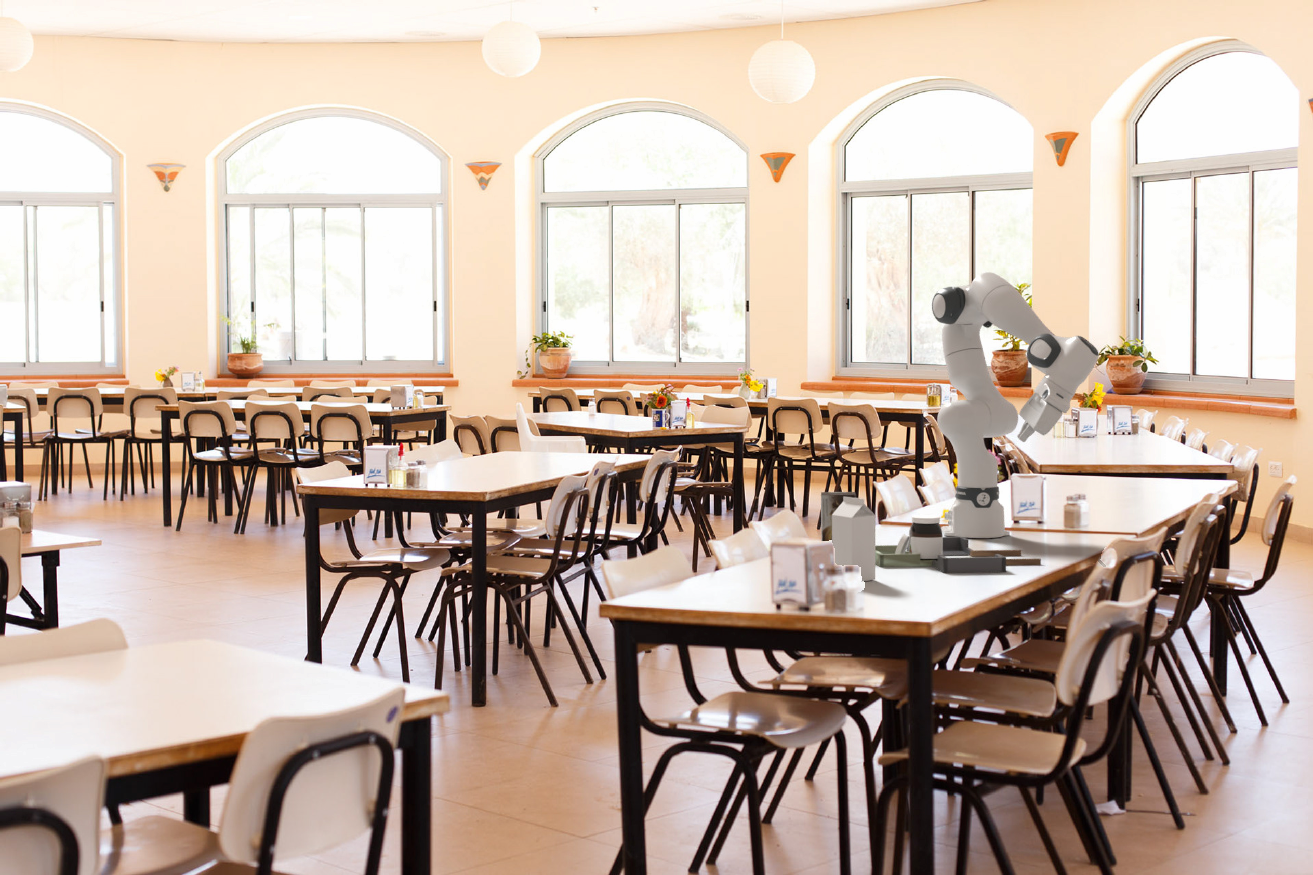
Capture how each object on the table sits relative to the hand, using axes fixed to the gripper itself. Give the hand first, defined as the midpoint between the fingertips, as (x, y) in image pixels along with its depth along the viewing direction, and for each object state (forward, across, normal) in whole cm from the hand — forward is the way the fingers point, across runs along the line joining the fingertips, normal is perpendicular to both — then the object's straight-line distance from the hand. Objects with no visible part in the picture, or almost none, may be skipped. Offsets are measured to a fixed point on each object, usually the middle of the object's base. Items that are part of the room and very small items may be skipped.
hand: (1020, 439), depth 340 cm
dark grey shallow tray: (+30, +30, 0) cm, 43 cm away
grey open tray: (+36, +3, -1) cm, 36 cm away
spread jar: (+38, +20, -9) cm, 44 cm away
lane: (+33, +17, -1) cm, 37 cm away
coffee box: (+50, +6, -23) cm, 55 cm away
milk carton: (+44, +46, -26) cm, 69 cm away
